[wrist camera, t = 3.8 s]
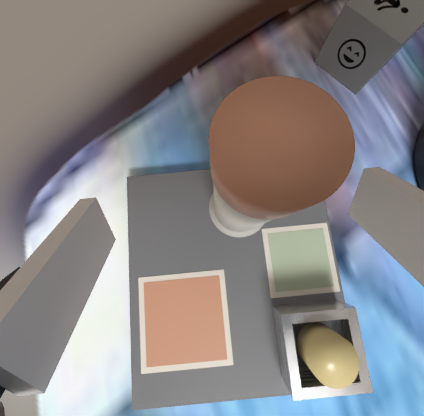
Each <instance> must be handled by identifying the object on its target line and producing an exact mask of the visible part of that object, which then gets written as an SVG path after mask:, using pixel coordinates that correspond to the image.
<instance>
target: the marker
mask: <svg viewBox="0 0 424 416" xmlns="http://www.w3.org/2000/svg"><path fill="white" fill-rule="evenodd" d="M354 152H355V140H354V134H353V130H352V127H351V124H350V121H349V119H348V117H347V115H346V114H345V112H344V110H343V109H342V107H341V106H340V105H339V104H338V103H337V101H336V100H335V99H334V98H333V97H332V96H330V95H329V94H328V93H327V92H325V91H324V90H323V89H321V88H319V87H318V86H316V85H314V84H312V83H310V82H307V81H304V80H301V79H298V78H293V77H287V76H269V77H263V78H259V79H255V80H252V81H250V82H247V83H245V84H243V85H241V86H240V87H238V88H236V89H235V90H234V91H232V92H231V93H230V94H229V95H228V96H227V97H226V98H225V99H224V100H223V101H222V103H221V104H220V105H219V107H218V108H217V110H216V112H215V114H214V116H213V119H212V122H211V125H210V130H209V155H210V171H211V177H212V180H213V188H214V212H215V216H216V218H217V220H218V221H219V223H220V224H221V225H222V226H223V227H225V228H226V229H228V230H230V231H233V232H245V231H248V230H251V229H253V228H255V227H257V226H260V225H262V224H264V223H266V222H268V221H271V220H273V219H278V218H283V217H286V216H289V215H291V214H294V213H296V212H299V211H301V210H303V209H306V208H308V207H311V206H313V205H315V204H318V203H320V202H322V201H323V200H325V199H326V198H328V197H329V196H331V195H332V194H333V193H334V192H335V191H336V190H337V189H338V188H339V187H340V186H341V185H342V184H343V182H344V181H345V179H346V177H347V176H348V174H349V171H350V169H351V167H352V163H353V159H354Z"/></svg>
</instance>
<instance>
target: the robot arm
mask: <svg viewBox="0 0 424 416" xmlns="http://www.w3.org/2000/svg"><path fill="white" fill-rule="evenodd" d="M415 170H416V175H417V179H418V183H419V186H420V188H421V189H419V188H417V187H416V186H414V185H412V184H410V183H408V182H406V181H404V180H403V179H401V178H399V177H397V176H395V175H393V174H391V173H390V172H388V171H386V170H384V169H382V168H380V167H375V168H365V169H364V170H363V173H362V176H361V179H360V181H359V184H358V187H357V190H356V193H355V196H354V199H353V201H352V204H351V207H350V210H349V213H348V215H349V216H351V217H352V218H353V219H354V220H355V221H356V222H357V223H358V224H359V225H360V226H361V227H362V228H363V229H364V230H365V231H366V232H367V233H368V234H369V235H370V236H371V237H372V238H373V239H374V240H376V241H377V242H378V243H379V244H380V245H381V246H382V247H383V248H384V249H385V250H386V251H387V252H388V253H389V254H390V255H391V256H392V257H393V258H394V259H395V260H396V261H397V262H398V263H399V264H401V265H402V266H403V267H404V268H405V269H406V270H407V271H408V272H409V273H410V274H411V275H412V276H413V277H414V278H415V279H416V280H417V281H418V282H419V283H420V284H421V285H422V286H423V287H424V125H423V126H422V128H421V130H420V132H419V135H418V138H417V142H416V146H415ZM115 240H116V239H115V237H114V235H113V233H112V231H111V229H110V227H109V224H108V222H107V220H106V218H105V216H104V214H103V212H102V209H101V207H100V205H99V203H98V201H97V199H96V198H87V199H80V200H79V201H78V202H77V203H76V205H75V206H74V207H73V208H72V209H71V210H70V211H69V213H68V214H67V215H66V216H65V217H64V218H63V219H62V221H61V222H60V223H59V224H58V225H57V226H56V227H55V229H54V230H53V231H52V232H51V233H50V234H49V235H48V237H47V238H46V239H45V240H44V241H43V242H42V243H41V245H40V246H39V247H38V248H37V249H36V250H35V251H34V253H33V254H32V255H31V256H30V257H29V258H28V259H27V261H26V262H25V263H24V264H23V265H22V266H21V267H18V268H17V269H16V270H14V271H13V272H12V273H10V274H9V275H8V276H7V277H5V278H4V279H2V281H1V282H0V398H1V396H2V394H3V393H4V391H5V389H6V390H8V391H10V392H12V393H13V394H15V395H17V396H23V395H32V394H41V393H45V391H46V388H47V386H48V384H49V382H50V380H51V378H52V376H53V373H54V371H55V369H56V367H57V365H58V363H59V360H60V358H61V356H62V354H63V352H64V350H65V348H66V345H67V343H68V341H69V339H70V337H71V335H72V332H73V330H74V328H75V326H76V324H77V322H78V319H79V317H80V315H81V313H82V311H83V309H84V307H85V304H86V302H87V300H88V298H89V296H90V294H91V291H92V289H93V287H94V285H95V283H96V281H97V279H98V276H99V274H100V272H101V270H102V268H103V266H104V263H105V261H106V259H107V257H108V255H109V253H110V251H111V248H112V246H113V244H114V242H115ZM0 416H5V414H4V407H3V404H2V402H0Z"/></svg>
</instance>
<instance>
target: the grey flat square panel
mask: <svg viewBox="0 0 424 416" xmlns="http://www.w3.org/2000/svg"><path fill="white" fill-rule="evenodd" d="M127 196H128V240H129V283H130V326H131V370H132V410H140V409H150V408H160V407H171V406H181V405H191V404H201V403H211V402H222V401H232V400H242V399H252V398H262V397H273V396H283V395H290V393H289V391H288V389H287V387H286V385H285V383H284V381H283V379H282V375H281V368H280V360H279V353H278V346H277V338H276V331H275V324H274V316H273V309H272V305H279V304H290V303H300V302H310V301H321V300H331V299H337V300H339V301H342V302H344V303H345V301H344V296H343V291H342V286H341V281H340V276H339V270H338V265H337V260H336V255H335V250H334V245H333V240H332V235H331V230H330V224H329V219H328V214H327V209H326V204H325V200H323V201H322V202H320V203H318V204H315V205H313V206H311V207H308V208H306V209H303V210H301V211H299V212H296V213H294V214H291V215H289V216H286V217H283V218H278V219H273V220H271V221H268V222H266V223H264V224H262V225H260V226H257V227H255V228H253V229H251V230H248V231H245V232H233V231H230V230H228V229H226V228H225V227H223V226H222V225H221V224H220V223H219V221H218V220H217V218H216V216H215V212H214V188H213V180H212V177H211V171H210V169H204V170H194V171H183V172H173V173H162V174H152V175H141V176H131V177H127ZM309 323H313V322H308V323H298V324H292V327H293V334H294V341H295V347H296V354H297V361H298V366H307V365H306V364H305V362H304V361H303V360H302V358H301V357H300V355H299V353H298V350H297V337H298V334H299V332H300V330H301V329H302V328H303V327H304V326H305V325H307V324H309ZM318 323H322V324H325V325H327V326H328V327H330V328H331V329H332V330H333V325H332V320H329V321H318Z"/></svg>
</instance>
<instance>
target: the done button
mask: <svg viewBox="0 0 424 416" xmlns="http://www.w3.org/2000/svg"><path fill="white" fill-rule="evenodd" d="M297 350H298V353H299V355H300V357H301V358H302V360H303V361H304V362H305V364H306V365H307V366H308V367H309V369H310V370H311V371H312V373H313V374H314V375H315V377H316V378H317V379H318V380H319V381H320V382H321V383H322V384H323V385H325V386H327V387H329V388H332V389H342V388H345V387H347V386H349V385H350V384H352V383H353V382H354V380H355V379H356V377H357V375H358V372H359V358H358V354H357V352H356V350H355V348H354V347H353V345H352V344H351V343H350V342H349V341H348V340H346V339H345V338H344V337H342V336H341V335H339V334H338V333H337V332H335V331H334V330H332V329H331V328H330V327H328V326H327V325H325V324H322V323H318V322H313V323H309V324H307V325H305V326H304V327H303V328H302V329H301V330H300V332H299V334H298V337H297Z"/></svg>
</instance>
